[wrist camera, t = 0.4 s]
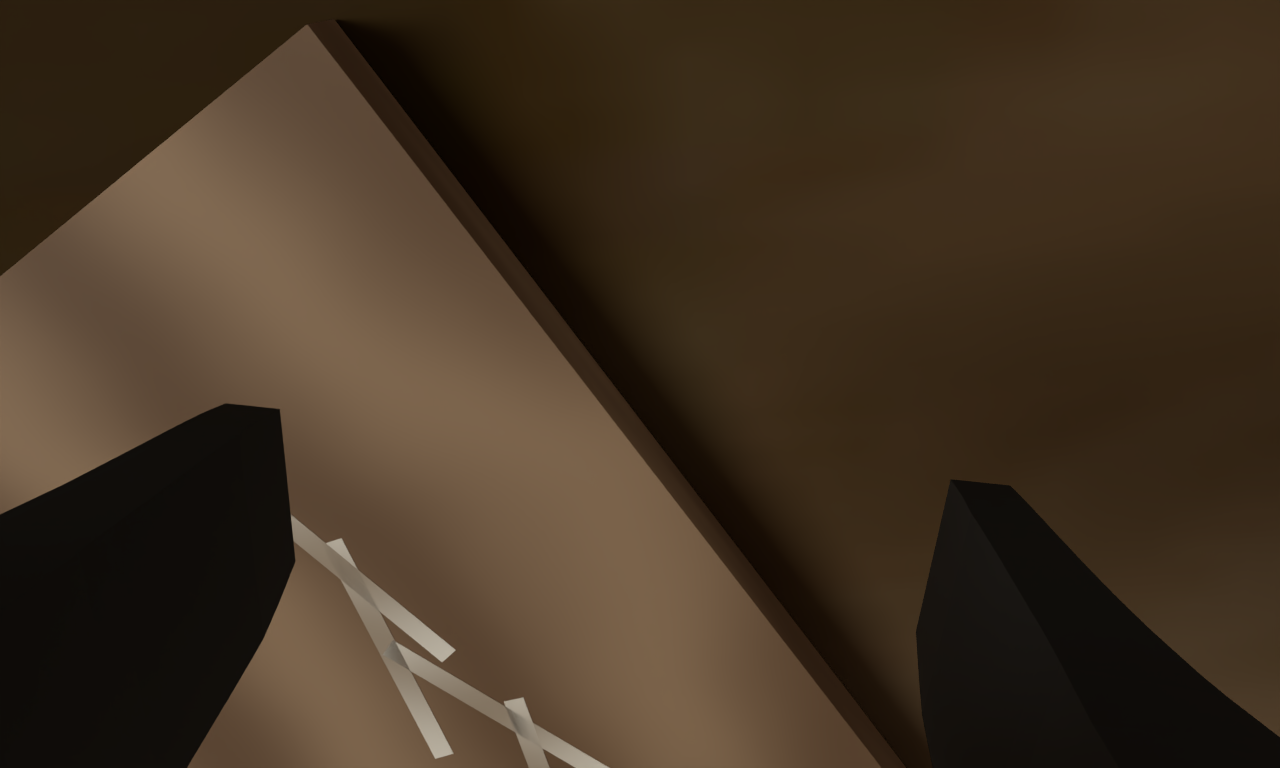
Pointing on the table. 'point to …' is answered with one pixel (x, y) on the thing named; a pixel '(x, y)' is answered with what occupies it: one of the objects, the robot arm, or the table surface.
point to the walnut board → (405, 456)
